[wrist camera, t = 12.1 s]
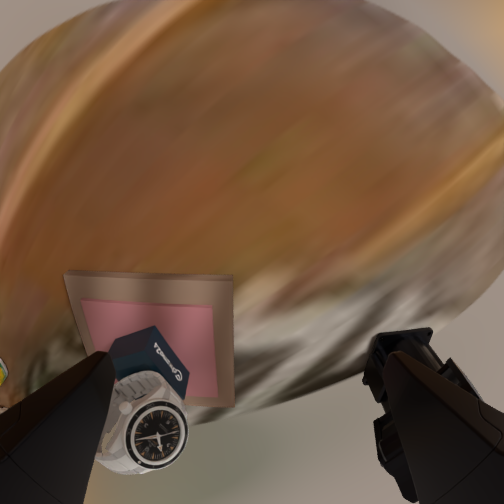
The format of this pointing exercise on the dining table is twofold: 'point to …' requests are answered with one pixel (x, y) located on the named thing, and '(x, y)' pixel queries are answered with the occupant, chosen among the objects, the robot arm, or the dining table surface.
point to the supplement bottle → (2, 371)
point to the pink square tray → (163, 322)
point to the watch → (145, 405)
